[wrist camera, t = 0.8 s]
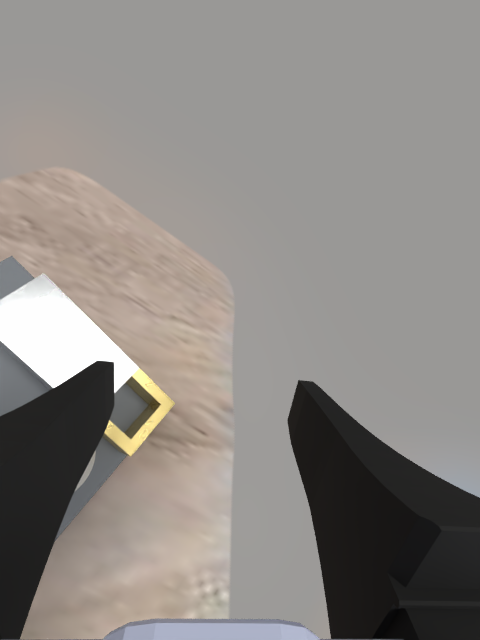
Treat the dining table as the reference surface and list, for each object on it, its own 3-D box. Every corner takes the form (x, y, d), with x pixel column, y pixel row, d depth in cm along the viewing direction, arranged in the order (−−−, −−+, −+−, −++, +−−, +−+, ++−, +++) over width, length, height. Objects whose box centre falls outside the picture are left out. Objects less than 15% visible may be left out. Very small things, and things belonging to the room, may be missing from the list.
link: (161, 404, 27) (175, 403, 25) (120, 452, 24) (130, 456, 22) (41, 287, 24) (43, 273, 21) (-21, 327, 21) (-27, 316, 19)
